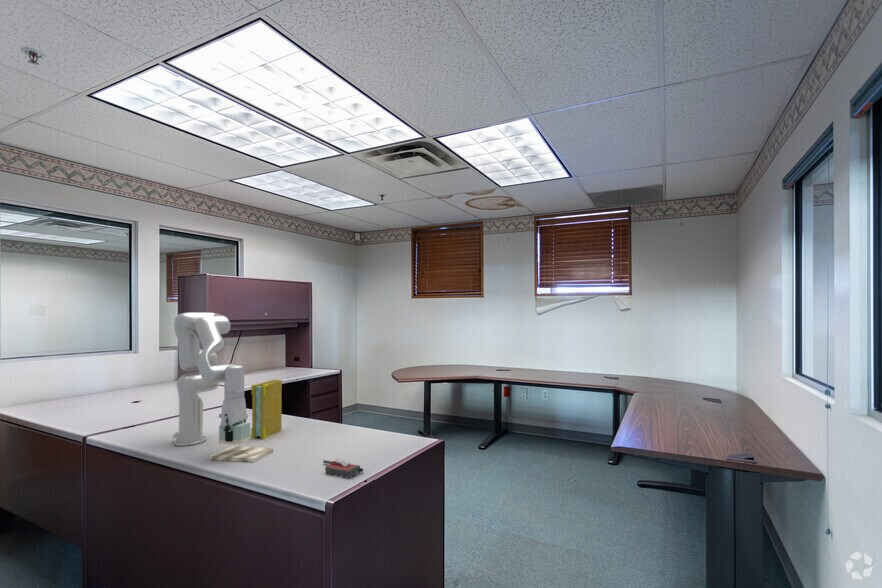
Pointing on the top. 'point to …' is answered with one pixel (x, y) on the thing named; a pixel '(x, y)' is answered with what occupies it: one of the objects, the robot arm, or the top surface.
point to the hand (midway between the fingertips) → (234, 438)
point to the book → (266, 408)
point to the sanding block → (236, 433)
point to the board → (241, 453)
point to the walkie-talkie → (342, 468)
